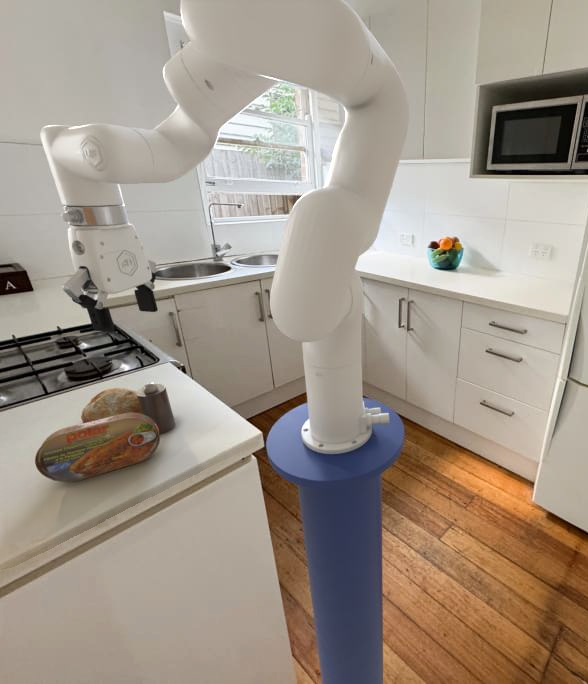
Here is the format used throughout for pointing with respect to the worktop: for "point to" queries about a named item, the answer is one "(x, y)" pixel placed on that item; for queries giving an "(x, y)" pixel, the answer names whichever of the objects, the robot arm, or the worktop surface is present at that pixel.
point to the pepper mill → (156, 405)
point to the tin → (97, 447)
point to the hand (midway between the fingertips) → (128, 320)
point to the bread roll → (111, 404)
